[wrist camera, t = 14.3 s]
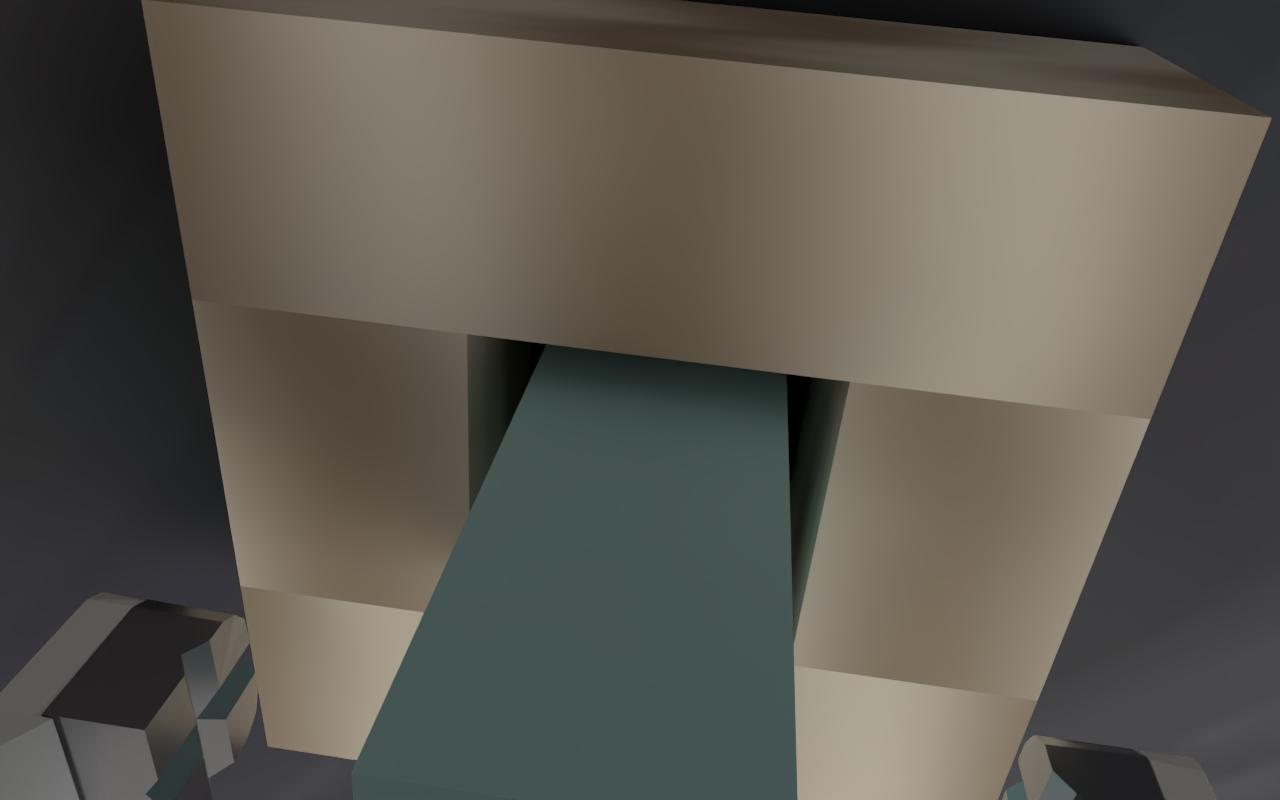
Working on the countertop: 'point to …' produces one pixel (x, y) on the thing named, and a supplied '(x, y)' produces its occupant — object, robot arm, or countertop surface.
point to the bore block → (692, 316)
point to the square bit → (610, 601)
